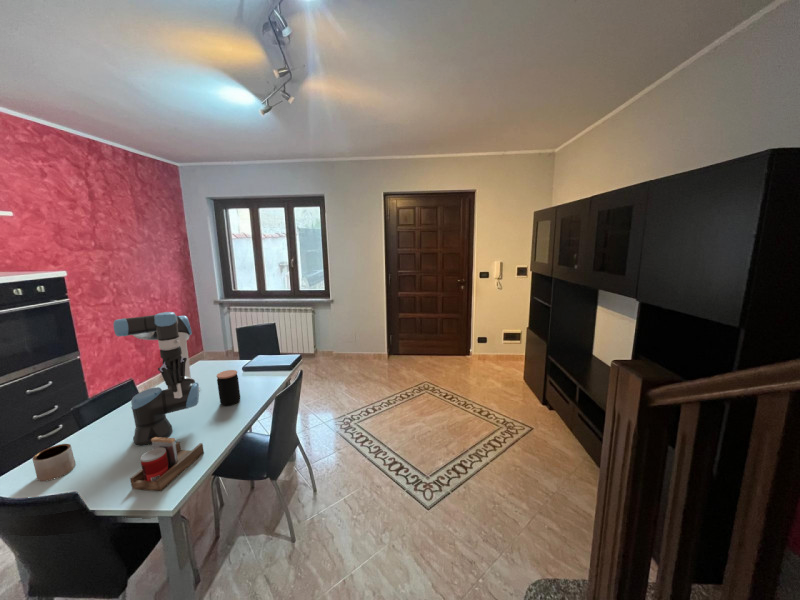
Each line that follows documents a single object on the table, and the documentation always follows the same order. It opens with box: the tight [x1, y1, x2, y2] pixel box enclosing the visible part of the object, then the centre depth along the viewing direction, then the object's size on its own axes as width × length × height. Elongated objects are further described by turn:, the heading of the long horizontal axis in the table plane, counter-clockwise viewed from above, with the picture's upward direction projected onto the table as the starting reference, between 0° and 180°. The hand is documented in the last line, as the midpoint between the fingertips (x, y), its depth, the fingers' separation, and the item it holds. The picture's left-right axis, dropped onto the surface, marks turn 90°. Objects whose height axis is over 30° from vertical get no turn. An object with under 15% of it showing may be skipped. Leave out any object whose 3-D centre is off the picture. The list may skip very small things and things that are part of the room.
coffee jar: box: [216, 369, 241, 407], centre depth 183 cm, size 11×11×18 cm
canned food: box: [140, 448, 169, 482], centre depth 123 cm, size 8×8×11 cm
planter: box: [32, 443, 77, 482], centre depth 129 cm, size 11×11×10 cm
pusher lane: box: [129, 441, 205, 493], centre depth 129 cm, size 12×22×5 cm, turn 173°
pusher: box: [151, 437, 178, 469], centre depth 127 cm, size 9×2×14 cm, turn 83°
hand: (178, 397), depth 140 cm, fingers closed
